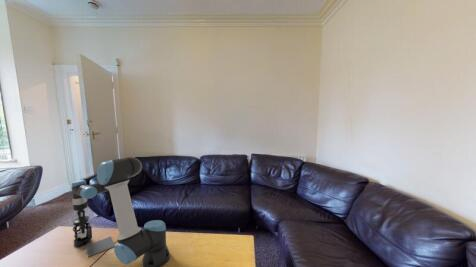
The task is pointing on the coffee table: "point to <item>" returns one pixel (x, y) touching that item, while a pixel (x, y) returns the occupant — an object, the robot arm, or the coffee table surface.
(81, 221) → the robot arm
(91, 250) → the plate
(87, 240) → the black lantern
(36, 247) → the coffee table surface
